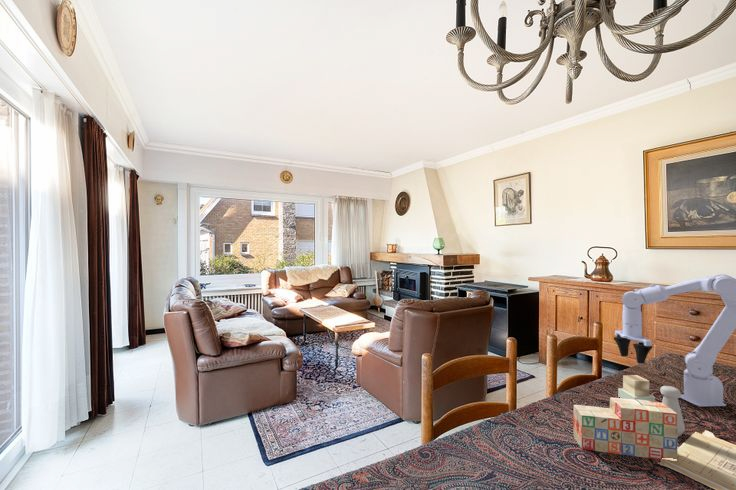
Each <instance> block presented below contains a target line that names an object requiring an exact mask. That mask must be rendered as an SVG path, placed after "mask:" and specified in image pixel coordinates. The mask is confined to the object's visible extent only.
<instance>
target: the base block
mask: <svg viewBox="0 0 736 490" xmlns="http://www.w3.org/2000/svg"><path fill="white" fill-rule="evenodd" d="M617 393H618V394H617V398H619V397H620V398H622V399H634V400H636V399H638V400H648V401H652V402H656V397H655V396H654V395H652V394H650V393H649V396H634V395H632V394H630V393H628V392H627V391H625V390H623V387H621V388H619V387H618V388H617Z"/></svg>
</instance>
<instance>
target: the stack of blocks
mask: <svg viewBox="0 0 736 490" xmlns="http://www.w3.org/2000/svg"><path fill="white" fill-rule="evenodd" d="M572 420H573V422H572V423H573V426H572V427H573V438H574V440H575V441H576V442H577V445H578V446H579V447H580V449H581V450H589V451H595V452H600V453H601V452H602V453H609V454H615V455H622V456H623V455H624V456H625V455H626V456H630V457H631V456H632V457H640V458H645V459H654V460H660V459H662V458H673V459H678V438H679V437H678V426H677V413H676V412H674V411H673V410H672V409H671V408H669V407H668V406H666V405H665V404H664V403H662V402H659V401H655V402H652V401H648V400H638V399H636V400H634V399H622V398H619V397H609V408H608V407H601V406H590V405H581V404H573V419H572Z"/></svg>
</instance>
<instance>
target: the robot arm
mask: <svg viewBox="0 0 736 490" xmlns="http://www.w3.org/2000/svg"><path fill="white" fill-rule="evenodd" d="M712 290H713V291H714V292H715V293H716V294H717V295H718V296H719V297H720V298H721V300H722V302H723V303H724V305H725V306H724V307H723V309H722V311H721V312H720V313H719V315H718V316H717V318H716V319H715V321H714V323H713V324H712V326H711V327H710V328H709V330H708V331H707V333H706V335H705V336H704V337H703V339H702V340H701V342H700V344H698V346H696V347H695V348H694V349H693V351H691V352H690V353H687V354H686V355H685V357H684V363H685V366H686V369H685V370H683V394H681V397H680V398H679V399H682V400H684V401H686V402H689V403H691V404H693V405H695V406H697V407H726V406H727V404H726V403H724V385H723V383H722V381H721V379H719V377H717V376H716V375H713V372H714V370H713V369H714V368H713V366H714V364H715V363H716V361H717V357H718V355H719V353H720V352H721V351H722V349H723V347H724V346H725V345H726V343H727V342H728V340H729V338H730V337H732V334H733V333H734V332H735V330H736V278H735V277H733V276H731V275H728V274H715V275H714V276H712V275H709V276H703V277H698V278H694V279H691V280H686V281H683V282H679V283H674V284H672V285H668V286H663V285H660V284H654V283H652V284H649V286H648V287H644V288H639V289H638V288H635V289H634V291H632V290H629V291H626V292H625V293H624V294H623V295H622V297H621V302H622V304H623V305H622V311H621V312H622V314H621V315H622V317H621V318H622V330H620V329H616V330H614V335H615V336H613V341H615V343H616V345H617V348H618V350H619V353H620V356H621V357H628V355H629V347H630V344H631V341H633V342H636V343H632V345H633V348H634V350H635V354H636V362H637V364H640V365H641V364H645V363H646V359H647V356H648V354H649V353H650V351H651V350H652V348H653V345H652V340H650V339H648V338H647V337H645V336H643V322H642V321H643V318H642V317H643V315H642V313H643V312H642V311H641V309H642V305H650V304H651V305H652V304H654V303H660V302H663V301H667V300H668V298H669V297H670V296H673V295H678V294H683V293H688V292H695V291H704V292H709V293H712Z"/></svg>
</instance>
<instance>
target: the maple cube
mask: <svg viewBox="0 0 736 490" xmlns="http://www.w3.org/2000/svg"><path fill="white" fill-rule="evenodd" d="M622 388H623V390H625V391H627V392H628V393H630V394H632V395H634V396H649V394H650V380H648V379H646V378H644V377H642V376H640V375H637V374H627V375H626V374H625V375H622Z"/></svg>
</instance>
